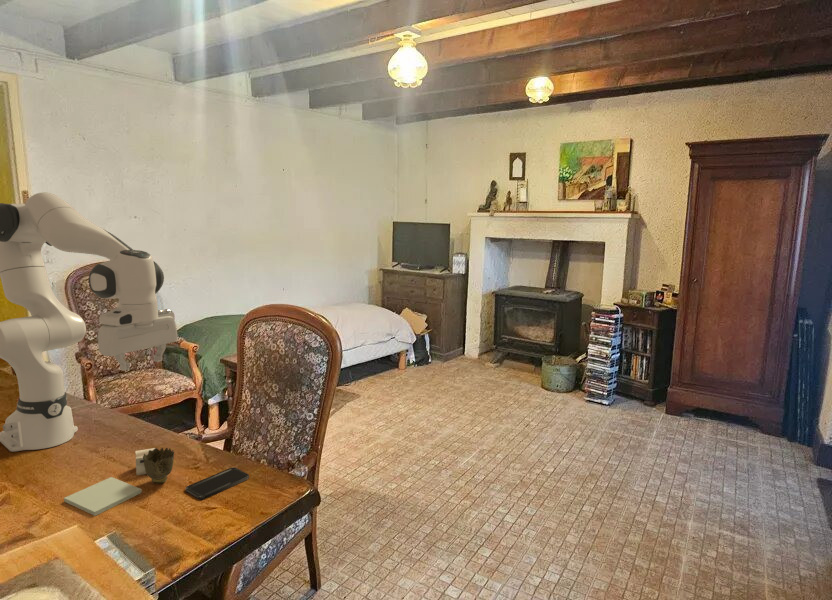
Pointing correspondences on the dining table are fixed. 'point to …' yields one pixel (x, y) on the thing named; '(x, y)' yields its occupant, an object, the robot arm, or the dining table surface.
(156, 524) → the dining table surface
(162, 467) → the cup
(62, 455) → the dining table surface
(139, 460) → the letter cube
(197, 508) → the dining table surface
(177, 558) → the dining table surface
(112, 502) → the sage board
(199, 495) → the phone
